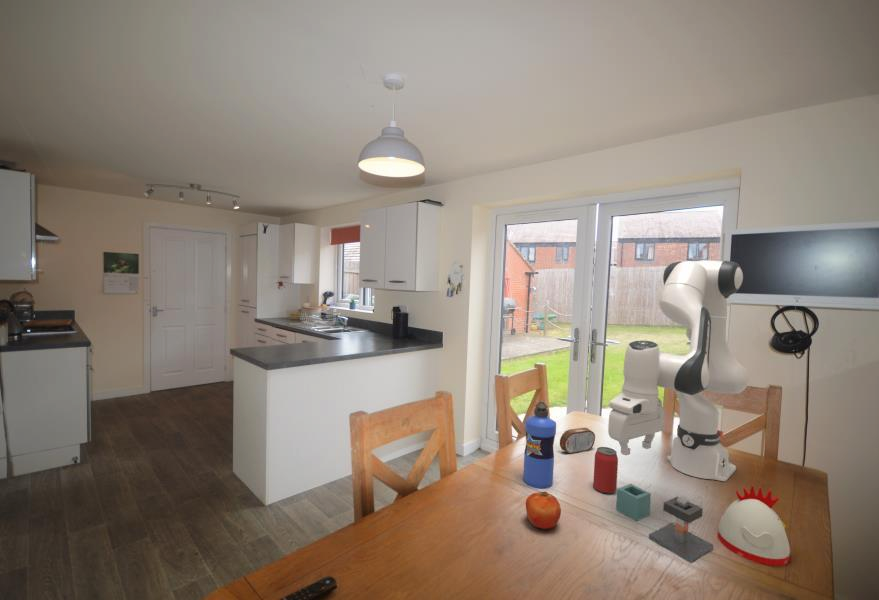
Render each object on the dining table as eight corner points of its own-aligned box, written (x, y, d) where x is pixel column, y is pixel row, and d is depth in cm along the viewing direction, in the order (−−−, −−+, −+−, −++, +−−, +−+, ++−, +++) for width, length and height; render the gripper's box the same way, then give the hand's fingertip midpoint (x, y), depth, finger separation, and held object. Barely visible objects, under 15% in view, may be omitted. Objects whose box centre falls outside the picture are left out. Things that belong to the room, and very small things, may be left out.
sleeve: (629, 504, 117) (630, 483, 117) (649, 514, 112) (650, 493, 111) (616, 509, 114) (617, 488, 114) (636, 520, 109) (637, 498, 108)
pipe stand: (671, 526, 107) (674, 485, 106) (713, 548, 98) (716, 504, 98) (648, 538, 101) (651, 494, 101) (690, 562, 93) (694, 515, 92)
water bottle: (541, 492, 122) (545, 409, 121) (516, 479, 129) (520, 401, 128) (559, 482, 128) (563, 403, 127) (534, 471, 135) (537, 396, 134)
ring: (676, 504, 104) (677, 496, 103) (702, 516, 98) (702, 508, 98) (663, 510, 100) (663, 502, 100) (688, 523, 95) (689, 515, 95)
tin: (589, 447, 157) (590, 425, 157) (596, 450, 154) (597, 428, 154) (558, 452, 151) (559, 430, 150) (564, 456, 148) (565, 433, 148)
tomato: (541, 538, 100) (542, 506, 100) (517, 518, 108) (518, 488, 108) (569, 528, 104) (570, 498, 104) (544, 510, 112) (545, 481, 112)
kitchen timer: (794, 574, 90) (800, 508, 90) (719, 550, 98) (723, 489, 97) (783, 541, 102) (787, 482, 101) (716, 522, 109) (720, 467, 109)
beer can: (618, 496, 121) (620, 456, 121) (594, 492, 123) (597, 453, 122) (613, 485, 128) (615, 447, 127) (591, 482, 129) (593, 444, 128)
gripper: (650, 393, 119) (647, 440, 120) (605, 402, 109) (602, 453, 109) (672, 399, 114) (669, 448, 115) (626, 409, 103) (623, 462, 104)
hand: (636, 451), depth 112 cm, fingers open, 8 cm apart
